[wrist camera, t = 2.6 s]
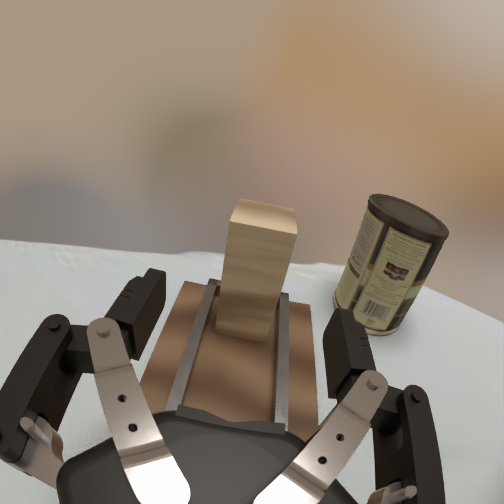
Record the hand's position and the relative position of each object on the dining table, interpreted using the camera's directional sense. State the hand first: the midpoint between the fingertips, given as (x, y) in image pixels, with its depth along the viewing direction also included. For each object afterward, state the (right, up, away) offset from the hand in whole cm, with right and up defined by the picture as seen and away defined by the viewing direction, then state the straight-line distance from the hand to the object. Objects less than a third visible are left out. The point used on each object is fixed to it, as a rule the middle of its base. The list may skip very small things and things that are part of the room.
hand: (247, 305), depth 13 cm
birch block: (-1, -5, +16) cm, 17 cm away
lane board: (-2, -10, +8) cm, 13 cm away
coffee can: (+15, -5, +22) cm, 27 cm away
